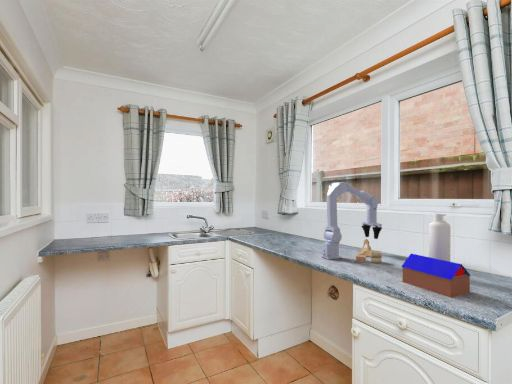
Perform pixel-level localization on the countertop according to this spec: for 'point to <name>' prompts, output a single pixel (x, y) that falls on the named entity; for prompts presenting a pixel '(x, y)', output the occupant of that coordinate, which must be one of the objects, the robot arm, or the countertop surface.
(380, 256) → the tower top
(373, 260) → the tower bottom
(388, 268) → the countertop surface
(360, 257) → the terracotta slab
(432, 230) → the bottle
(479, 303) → the countertop surface
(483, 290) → the countertop surface
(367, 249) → the bone
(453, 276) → the house
